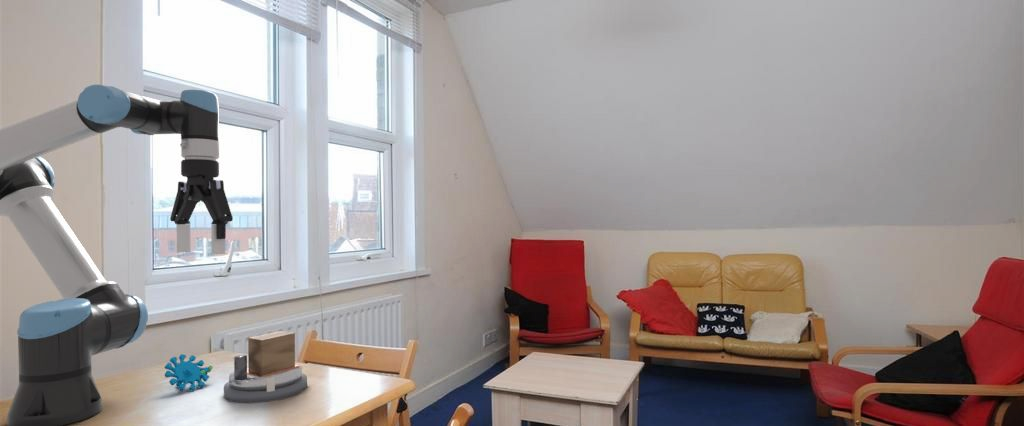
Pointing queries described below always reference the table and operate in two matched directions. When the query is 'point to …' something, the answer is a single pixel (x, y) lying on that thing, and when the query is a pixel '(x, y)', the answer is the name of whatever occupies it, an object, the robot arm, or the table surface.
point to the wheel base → (265, 391)
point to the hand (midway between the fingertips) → (200, 253)
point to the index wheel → (260, 376)
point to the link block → (271, 352)
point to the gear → (187, 372)
